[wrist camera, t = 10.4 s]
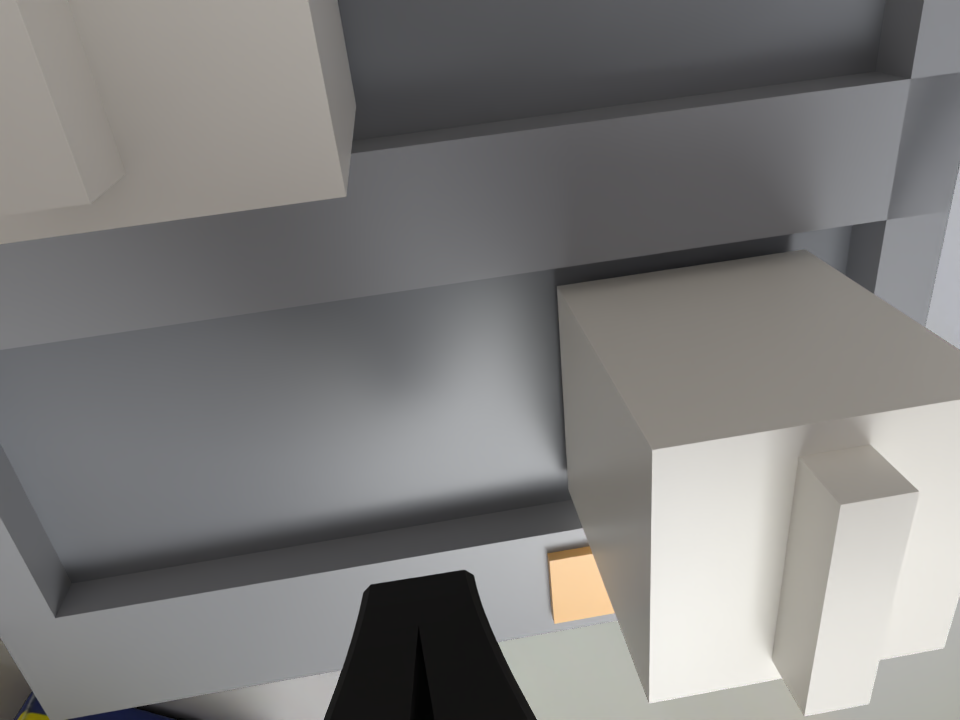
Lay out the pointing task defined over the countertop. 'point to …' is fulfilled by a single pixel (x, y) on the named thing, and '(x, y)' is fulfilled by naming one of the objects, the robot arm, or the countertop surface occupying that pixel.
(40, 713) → the supplement box
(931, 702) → the countertop surface
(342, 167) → the beige block
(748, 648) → the tab
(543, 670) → the countertop surface
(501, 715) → the robot arm
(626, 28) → the switch board
